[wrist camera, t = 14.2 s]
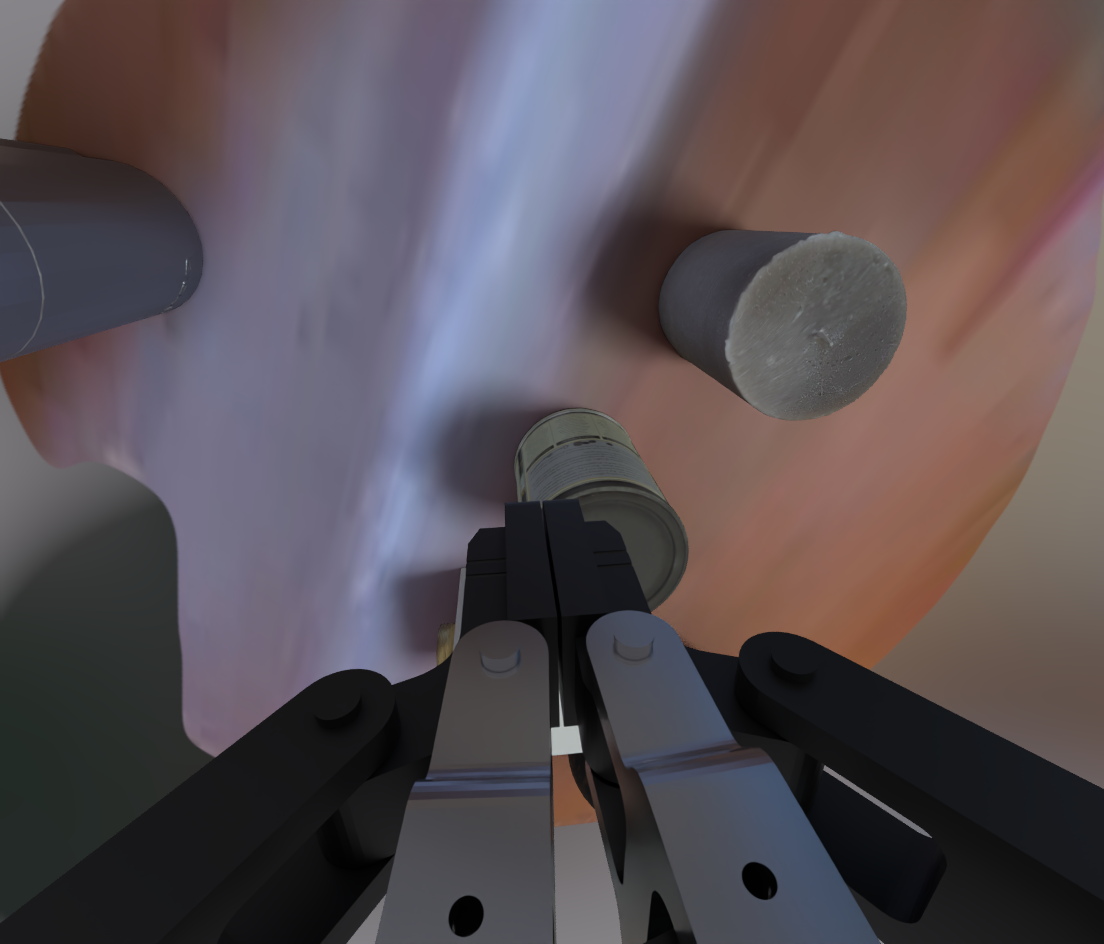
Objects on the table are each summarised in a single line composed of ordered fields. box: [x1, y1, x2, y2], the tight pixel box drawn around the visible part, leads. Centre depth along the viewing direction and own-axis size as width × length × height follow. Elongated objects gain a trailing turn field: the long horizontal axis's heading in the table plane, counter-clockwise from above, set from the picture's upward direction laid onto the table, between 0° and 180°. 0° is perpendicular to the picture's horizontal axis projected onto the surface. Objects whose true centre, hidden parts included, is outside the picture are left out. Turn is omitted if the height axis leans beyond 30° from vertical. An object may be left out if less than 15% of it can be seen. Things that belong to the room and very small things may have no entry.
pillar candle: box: [658, 230, 907, 420], centre depth 33 cm, size 10×10×15 cm
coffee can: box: [514, 408, 689, 611], centre depth 39 cm, size 10×10×14 cm
